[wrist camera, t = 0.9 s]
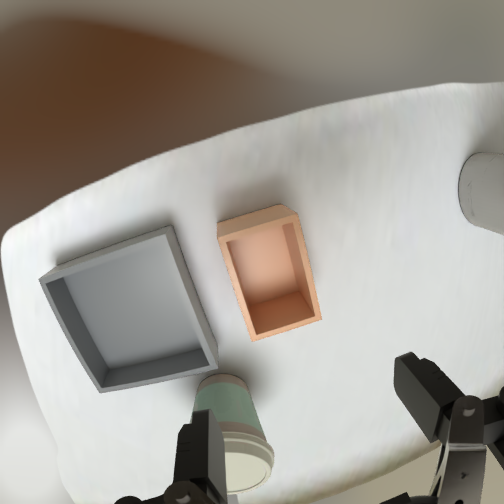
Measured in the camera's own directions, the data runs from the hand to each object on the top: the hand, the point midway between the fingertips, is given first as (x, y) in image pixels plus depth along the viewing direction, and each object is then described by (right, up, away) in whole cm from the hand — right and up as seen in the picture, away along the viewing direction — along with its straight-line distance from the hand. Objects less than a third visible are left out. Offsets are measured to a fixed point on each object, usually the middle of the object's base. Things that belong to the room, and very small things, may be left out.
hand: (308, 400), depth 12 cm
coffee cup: (-6, -10, +22) cm, 24 cm away
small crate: (-1, +5, +18) cm, 19 cm away
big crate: (-14, +1, +17) cm, 22 cm away
